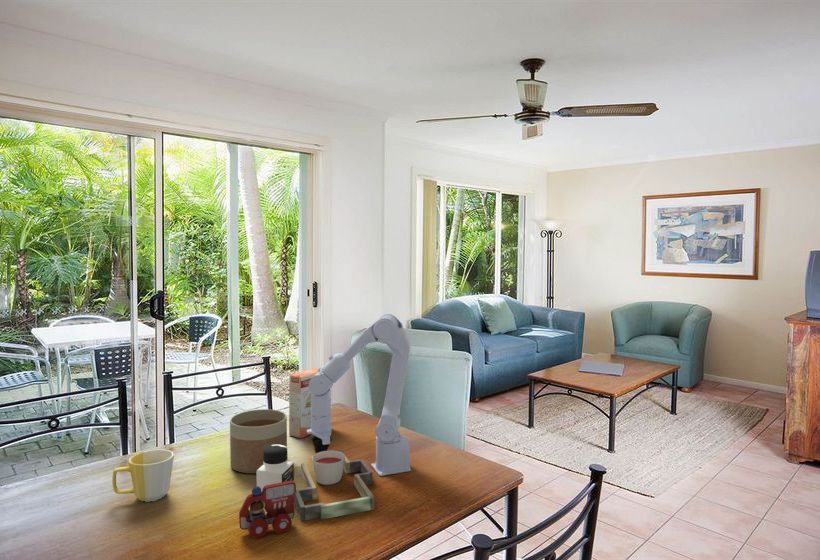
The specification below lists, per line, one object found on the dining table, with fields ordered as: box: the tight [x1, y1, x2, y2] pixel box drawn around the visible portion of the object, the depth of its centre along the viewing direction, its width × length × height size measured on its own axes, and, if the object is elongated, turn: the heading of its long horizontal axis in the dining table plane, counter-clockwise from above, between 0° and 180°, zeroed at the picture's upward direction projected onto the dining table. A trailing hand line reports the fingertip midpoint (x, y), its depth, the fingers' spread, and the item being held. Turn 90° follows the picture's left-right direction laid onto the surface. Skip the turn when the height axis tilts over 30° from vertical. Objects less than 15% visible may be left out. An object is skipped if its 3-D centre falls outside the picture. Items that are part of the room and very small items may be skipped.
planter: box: [229, 408, 288, 474], centre depth 153 cm, size 16×16×14 cm
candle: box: [311, 450, 346, 486], centre depth 143 cm, size 9×9×6 cm
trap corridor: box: [294, 456, 375, 521], centre depth 137 cm, size 22×26×3 cm
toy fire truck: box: [238, 480, 297, 539], centre depth 118 cm, size 7×12×10 cm, turn 112°
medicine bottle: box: [256, 444, 295, 492], centre depth 135 cm, size 7×7×12 cm
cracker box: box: [288, 367, 320, 439], centre depth 179 cm, size 14×6×21 cm, turn 147°
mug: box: [111, 448, 175, 503], centre depth 132 cm, size 14×10×10 cm
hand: (320, 460), depth 152 cm, fingers closed
